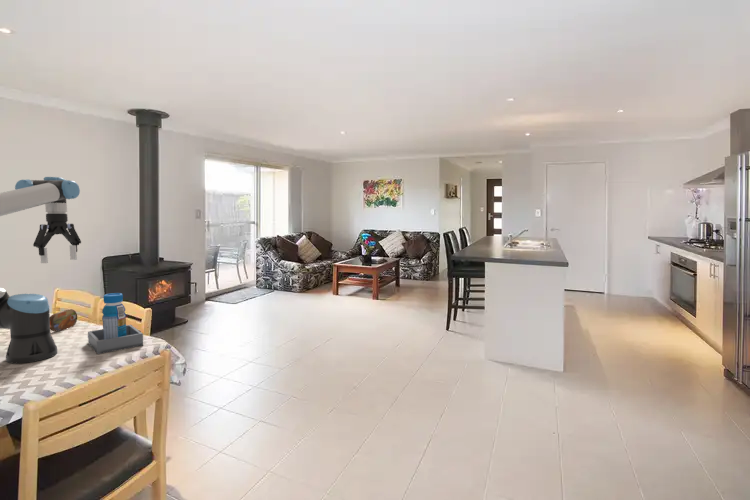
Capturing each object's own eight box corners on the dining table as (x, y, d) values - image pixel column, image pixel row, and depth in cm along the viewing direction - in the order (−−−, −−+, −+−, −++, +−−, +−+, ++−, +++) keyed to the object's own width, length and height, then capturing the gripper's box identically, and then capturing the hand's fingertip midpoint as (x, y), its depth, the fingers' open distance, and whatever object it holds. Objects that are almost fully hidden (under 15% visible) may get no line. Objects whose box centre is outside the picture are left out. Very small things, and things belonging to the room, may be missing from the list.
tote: (143, 345, 174) (142, 333, 173) (97, 354, 163) (97, 341, 162) (131, 335, 187) (130, 324, 186) (88, 343, 176) (87, 331, 175)
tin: (54, 333, 189) (53, 315, 188) (47, 333, 189) (46, 315, 188) (78, 324, 204) (77, 307, 203) (72, 324, 204) (71, 307, 203)
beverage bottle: (103, 346, 169) (101, 297, 167) (103, 340, 176) (100, 293, 174) (128, 342, 174) (125, 295, 172) (126, 337, 181) (124, 291, 179)
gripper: (75, 212, 197) (78, 257, 199) (20, 212, 173) (23, 264, 175) (88, 212, 195) (91, 258, 197) (34, 213, 171) (38, 265, 173)
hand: (59, 261), depth 186 cm, fingers open, 13 cm apart
